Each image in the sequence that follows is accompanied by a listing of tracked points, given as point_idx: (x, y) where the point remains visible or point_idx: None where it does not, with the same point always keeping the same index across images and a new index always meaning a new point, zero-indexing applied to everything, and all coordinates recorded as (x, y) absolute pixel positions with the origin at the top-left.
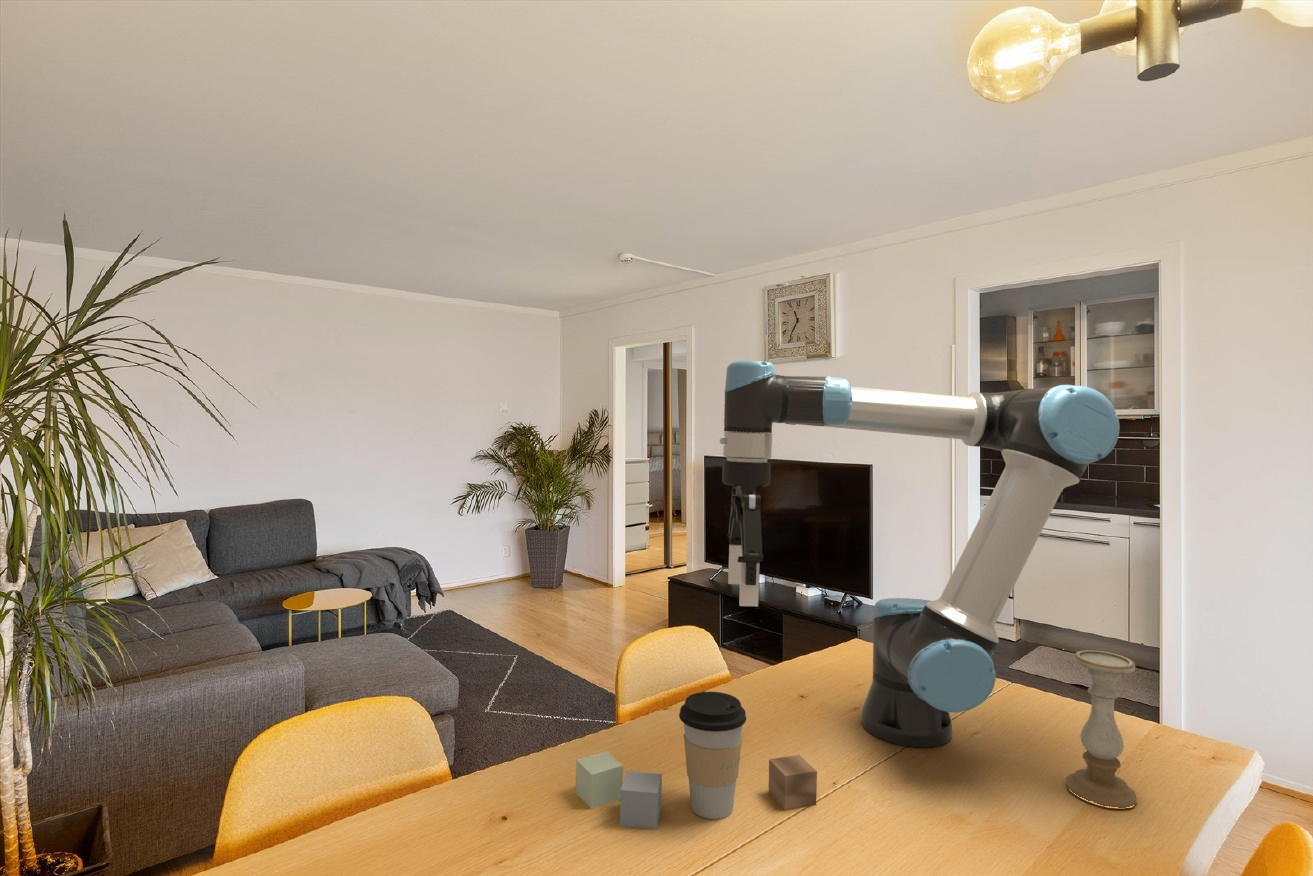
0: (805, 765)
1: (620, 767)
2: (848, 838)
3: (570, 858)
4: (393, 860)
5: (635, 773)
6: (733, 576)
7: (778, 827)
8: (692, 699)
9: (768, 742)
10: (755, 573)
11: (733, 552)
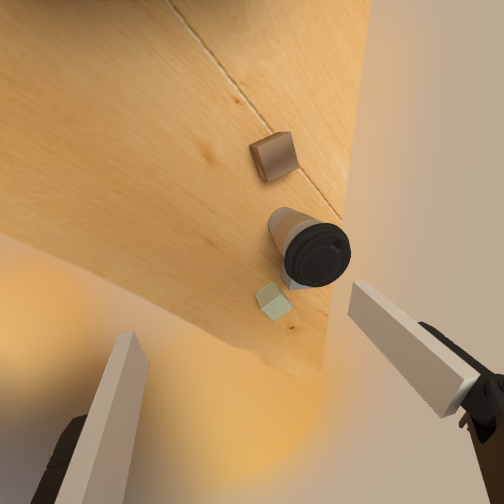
0: (279, 143)
1: (281, 294)
2: (325, 111)
3: (327, 289)
4: (321, 349)
5: (292, 284)
6: (140, 377)
7: (308, 172)
8: (312, 281)
9: (155, 168)
10: (459, 350)
11: (118, 484)
